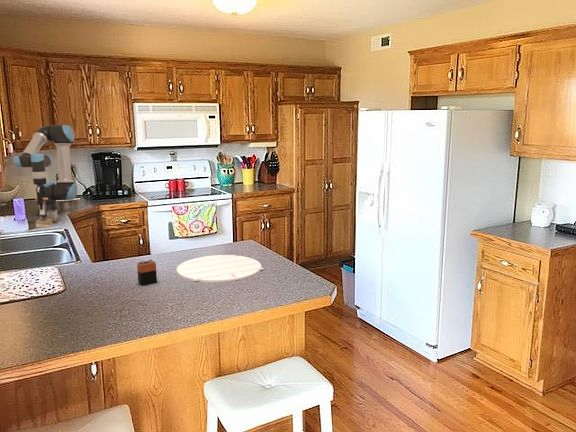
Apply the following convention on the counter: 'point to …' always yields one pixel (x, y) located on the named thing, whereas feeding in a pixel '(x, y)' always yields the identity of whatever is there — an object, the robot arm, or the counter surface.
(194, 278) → the lazy susan
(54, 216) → the chuck
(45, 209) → the chuck key
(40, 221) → the block
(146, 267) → the battery
